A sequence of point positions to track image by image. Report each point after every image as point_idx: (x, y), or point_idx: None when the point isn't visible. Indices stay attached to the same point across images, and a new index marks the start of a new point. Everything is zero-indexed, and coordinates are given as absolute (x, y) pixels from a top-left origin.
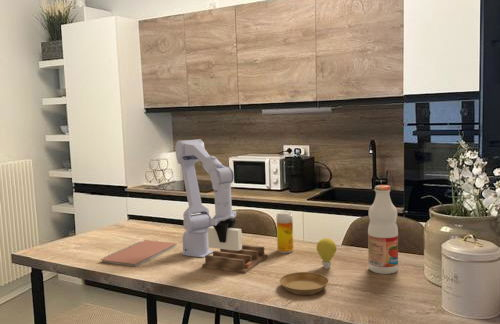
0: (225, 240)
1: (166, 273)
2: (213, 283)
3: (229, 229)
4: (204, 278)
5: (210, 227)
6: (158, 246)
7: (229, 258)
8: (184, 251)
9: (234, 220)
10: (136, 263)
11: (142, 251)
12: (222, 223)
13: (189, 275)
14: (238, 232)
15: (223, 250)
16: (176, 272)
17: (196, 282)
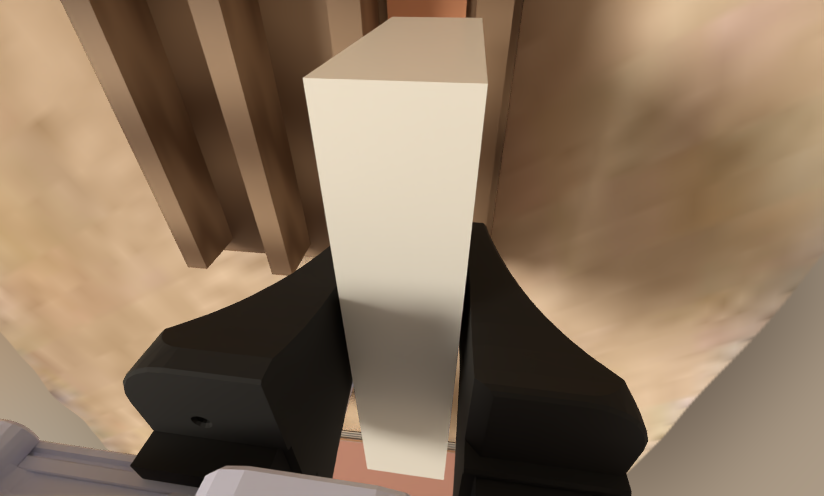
0: (477, 230)
1: (605, 357)
2: (805, 62)
3: (437, 283)
4: (681, 171)
5: (418, 467)
6: (343, 460)
7: (486, 112)
8: (351, 390)
9: (199, 363)
10: None
11: (413, 477)
12: (559, 474)
13: (627, 267)
14: (462, 70)
15: (292, 246)
16: (586, 330)
17: (763, 185)
